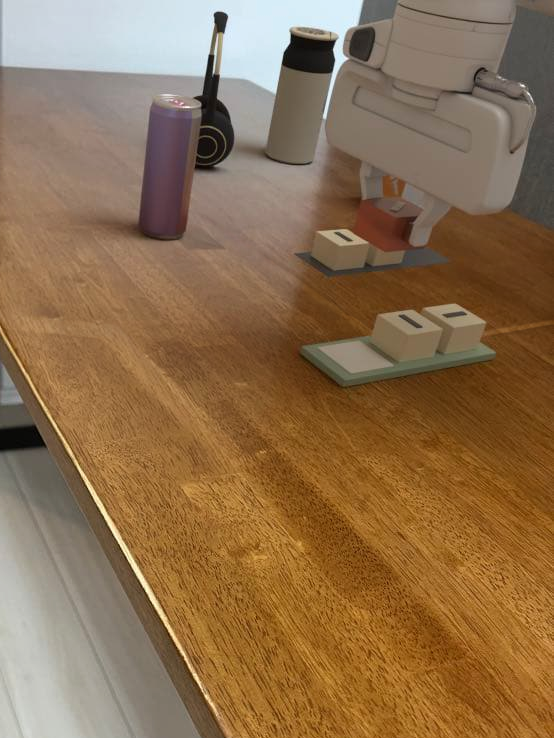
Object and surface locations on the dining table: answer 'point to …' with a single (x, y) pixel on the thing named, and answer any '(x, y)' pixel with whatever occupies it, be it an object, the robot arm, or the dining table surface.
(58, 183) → the dining table surface
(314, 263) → the board
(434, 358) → the word board
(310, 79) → the travel mug
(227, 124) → the headphones
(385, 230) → the block
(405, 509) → the dining table surface
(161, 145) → the beverage can
